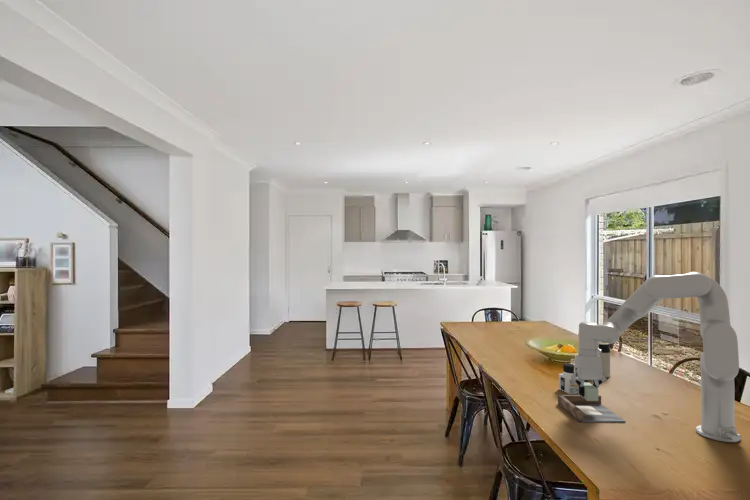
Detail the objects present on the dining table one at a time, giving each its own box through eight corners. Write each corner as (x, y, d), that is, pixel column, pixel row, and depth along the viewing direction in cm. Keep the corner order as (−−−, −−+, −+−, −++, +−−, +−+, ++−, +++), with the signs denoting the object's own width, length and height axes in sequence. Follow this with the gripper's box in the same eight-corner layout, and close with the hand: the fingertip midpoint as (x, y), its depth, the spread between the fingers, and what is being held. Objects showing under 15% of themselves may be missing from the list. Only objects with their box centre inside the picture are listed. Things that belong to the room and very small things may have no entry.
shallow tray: (625, 422, 167) (625, 412, 167) (579, 422, 167) (579, 412, 167) (599, 404, 187) (599, 395, 187) (558, 403, 187) (558, 394, 187)
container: (569, 394, 199) (569, 366, 199) (558, 389, 207) (558, 362, 207) (583, 393, 201) (583, 365, 201) (571, 388, 209) (571, 361, 209)
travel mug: (613, 377, 225) (613, 343, 225) (597, 377, 226) (597, 343, 226) (605, 373, 233) (605, 340, 233) (590, 373, 234) (590, 340, 234)
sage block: (588, 394, 182) (588, 382, 182) (598, 400, 174) (598, 388, 174) (578, 394, 182) (578, 382, 182) (587, 400, 174) (587, 388, 174)
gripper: (604, 350, 182) (603, 392, 182) (564, 349, 182) (563, 392, 182) (613, 354, 174) (613, 399, 174) (572, 354, 174) (571, 398, 174)
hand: (588, 395), depth 178 cm, fingers closed on sage block, 4 cm apart
